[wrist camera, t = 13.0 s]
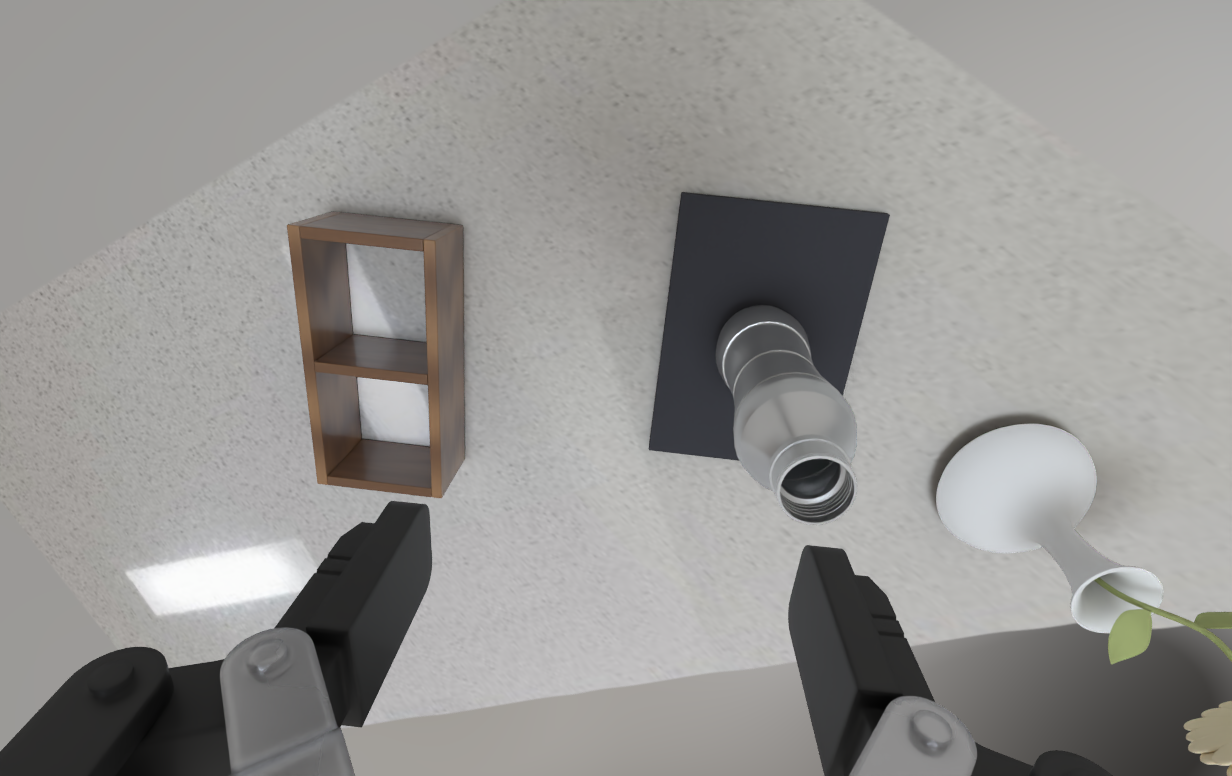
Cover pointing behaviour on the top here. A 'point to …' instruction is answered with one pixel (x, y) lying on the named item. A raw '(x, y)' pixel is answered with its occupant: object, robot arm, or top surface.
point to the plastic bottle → (788, 416)
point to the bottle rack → (379, 353)
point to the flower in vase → (1067, 545)
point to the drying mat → (755, 301)
